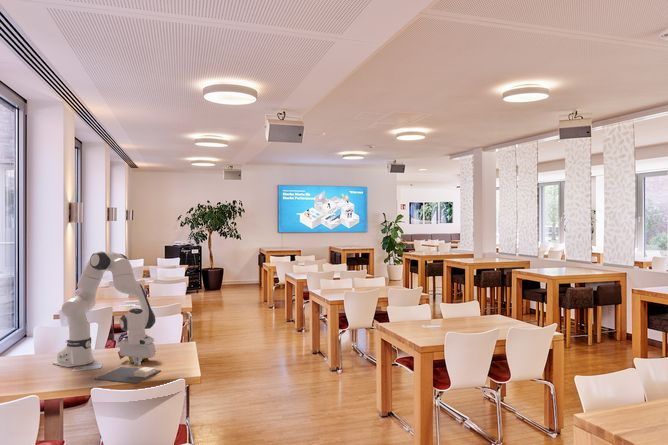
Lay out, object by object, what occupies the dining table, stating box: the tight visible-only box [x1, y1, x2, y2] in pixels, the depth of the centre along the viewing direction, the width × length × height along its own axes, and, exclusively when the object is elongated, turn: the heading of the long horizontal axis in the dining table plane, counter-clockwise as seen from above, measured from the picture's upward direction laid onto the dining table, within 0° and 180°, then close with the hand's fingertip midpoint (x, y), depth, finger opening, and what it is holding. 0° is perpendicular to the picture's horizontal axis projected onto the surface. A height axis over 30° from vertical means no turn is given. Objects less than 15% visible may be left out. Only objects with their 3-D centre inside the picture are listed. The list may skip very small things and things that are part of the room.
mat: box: [94, 366, 162, 384], centre depth 262 cm, size 26×20×1 cm
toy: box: [117, 350, 157, 364], centre depth 287 cm, size 9×12×20 cm
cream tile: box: [134, 366, 156, 377], centre depth 261 cm, size 2×8×7 cm
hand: (137, 364), depth 262 cm, fingers closed
